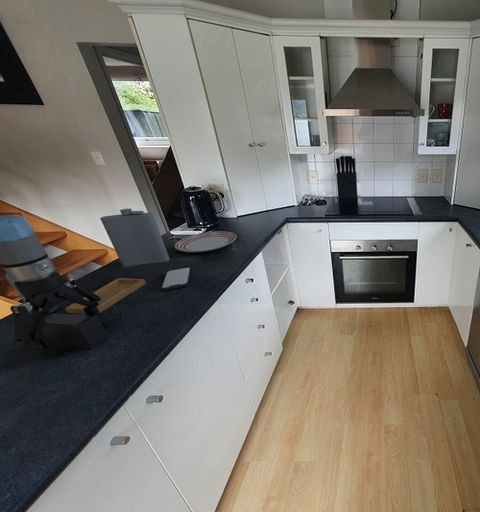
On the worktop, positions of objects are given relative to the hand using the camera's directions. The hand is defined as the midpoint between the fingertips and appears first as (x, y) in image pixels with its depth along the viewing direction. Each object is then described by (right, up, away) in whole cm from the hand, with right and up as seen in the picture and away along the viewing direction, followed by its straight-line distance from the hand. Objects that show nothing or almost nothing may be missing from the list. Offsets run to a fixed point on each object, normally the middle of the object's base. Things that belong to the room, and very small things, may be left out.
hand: (76, 339), depth 79 cm
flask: (-19, +21, +45) cm, 53 cm away
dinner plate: (-2, +30, +62) cm, 69 cm away
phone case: (+6, +14, +32) cm, 35 cm away
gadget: (0, -1, 0) cm, 1 cm away
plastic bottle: (-24, +5, +12) cm, 27 cm away
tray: (-11, +9, +21) cm, 25 cm away
